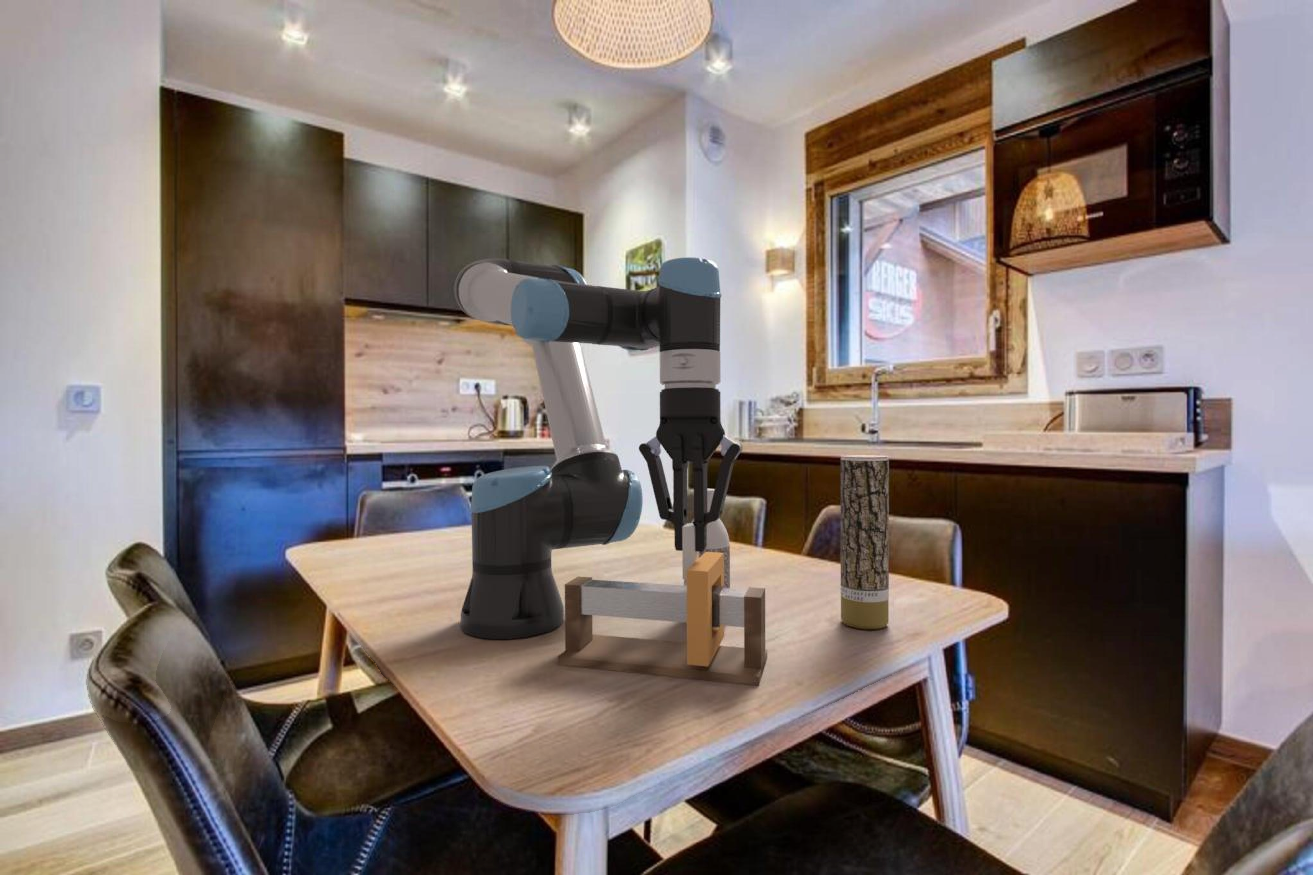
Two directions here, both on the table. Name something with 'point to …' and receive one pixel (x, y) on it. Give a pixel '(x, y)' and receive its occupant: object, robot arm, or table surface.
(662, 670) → the brown stand
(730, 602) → the rail
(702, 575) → the orange square ring
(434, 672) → the table surface
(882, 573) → the paper tube
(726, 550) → the bath foam
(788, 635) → the table surface
